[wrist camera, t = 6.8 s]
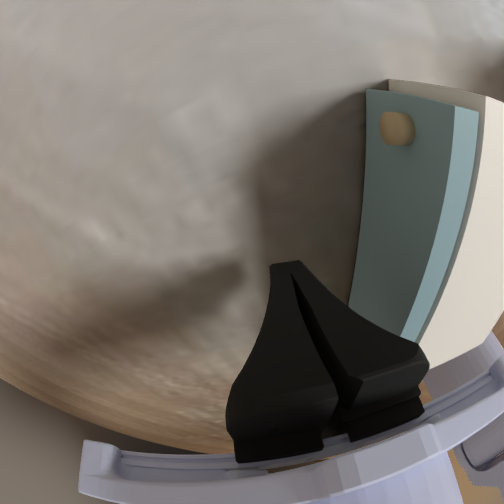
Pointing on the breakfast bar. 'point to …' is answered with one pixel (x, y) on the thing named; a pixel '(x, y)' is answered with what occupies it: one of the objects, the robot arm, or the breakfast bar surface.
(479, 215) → the cabinet
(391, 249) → the door
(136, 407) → the breakfast bar surface
